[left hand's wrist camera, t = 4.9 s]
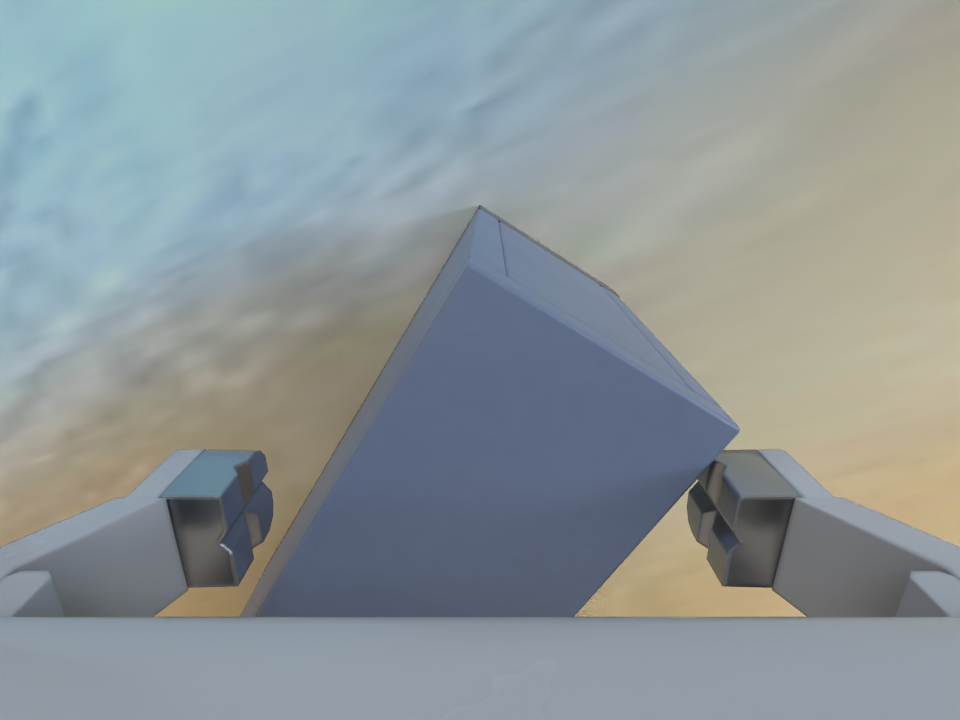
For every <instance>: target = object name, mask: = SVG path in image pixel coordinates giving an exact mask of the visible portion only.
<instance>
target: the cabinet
mask: <svg viewBox="0 0 960 720" xmlns="http://www.w3.org/2000/svg"><path fill="white" fill-rule="evenodd" d="M739 430H740V428H739V427H738V425H737V424H736V423H735V422H734V421H733V420H732V419H731V418H730V416H729V415H728V414H727V413H726V412H725V411H724V410H722V408H721V407H720V406H719V404H718V403H717V402H716V401H715V400H714V399H713V398H712V397H711V396H710V395H709V394H708V393H707V392H706V390H705V389H704V388H703V387H702V386H701V385H700V384H699V383H698V382H697V381H696V380H695V379H694V378H693V377H692V375H691V374H690V373H689V372H688V371H687V370H686V369H685V368H684V367H683V366H682V365H681V364H680V363H679V361H678V360H677V359H676V358H675V357H674V356H673V355H672V354H671V353H670V352H669V351H668V350H667V349H666V348H665V346H664V345H663V344H662V343H661V342H660V341H659V340H658V339H657V338H656V337H655V336H654V335H653V334H652V332H651V331H650V330H649V329H648V328H647V327H646V326H645V325H644V324H643V323H642V322H641V321H640V320H639V318H638V317H637V316H636V315H635V314H634V313H633V312H632V311H631V310H630V309H629V308H628V307H627V306H626V305H625V303H624V302H623V301H622V300H621V299H620V298H619V296H618V295H617V294H616V293H615V292H614V290H612V289H611V288H609V287H608V286H606V285H604V284H603V283H601V282H600V281H598V280H597V279H595V278H593V277H592V276H590V275H589V274H587V273H586V272H584V271H583V270H581V269H579V268H578V267H576V266H575V265H573V264H572V263H570V262H568V261H567V260H565V259H564V258H562V257H561V256H559V255H557V254H556V253H554V252H553V251H551V250H550V249H548V248H546V247H545V246H543V245H542V244H540V243H539V242H537V241H535V240H534V239H532V238H531V237H529V236H528V235H526V234H524V233H523V232H521V231H520V230H518V229H517V228H515V227H513V226H512V225H510V224H509V223H507V222H506V221H504V220H502V219H501V218H499V217H498V216H496V215H495V214H493V213H491V212H490V211H488V210H487V209H485V208H484V207H482V206H481V205H479V207H478V209H477V210H476V212H475V214H474V215H473V217H472V219H471V221H470V222H469V224H468V226H467V227H466V229H465V231H464V232H463V234H462V236H461V238H460V239H459V241H458V243H457V244H456V246H455V248H454V249H453V251H452V253H451V254H450V256H449V258H448V260H447V261H446V263H445V265H444V266H443V268H442V270H441V271H440V273H439V275H438V276H437V278H436V280H435V282H434V283H433V285H432V287H431V288H430V290H429V292H428V293H427V295H426V297H425V299H424V300H423V302H422V304H421V305H420V307H419V309H418V310H417V312H416V314H415V315H414V317H413V319H412V321H411V322H410V324H409V326H408V327H407V329H406V331H405V332H404V334H403V336H402V338H401V339H400V341H399V343H398V344H397V346H396V348H395V349H394V351H393V353H392V354H391V356H390V358H389V360H388V361H387V363H386V365H385V366H384V368H383V370H382V371H381V373H380V375H379V376H378V378H377V380H376V382H375V383H374V385H373V387H372V388H371V390H370V392H369V393H368V395H367V397H366V399H365V400H364V402H363V404H362V405H361V407H360V409H359V410H358V412H357V414H356V415H355V417H354V419H353V421H352V422H351V424H350V426H349V427H348V429H347V431H346V432H345V434H344V436H343V437H342V439H341V441H340V443H339V444H338V446H337V448H336V449H335V451H334V453H333V454H332V456H331V458H330V460H329V461H328V463H327V465H326V466H325V468H324V470H323V471H322V473H321V475H320V476H319V478H318V480H317V482H316V483H315V485H314V487H313V488H312V490H311V492H310V493H309V495H308V497H307V499H306V500H305V502H304V504H303V505H302V507H301V509H300V510H299V512H298V514H297V515H296V517H295V519H294V521H293V522H292V524H291V526H290V527H289V529H288V531H287V532H286V534H285V536H284V537H283V539H282V541H281V543H280V544H279V546H278V548H277V549H276V551H275V553H274V554H273V556H272V558H271V560H270V561H269V563H268V565H267V566H266V568H265V570H264V572H263V574H262V576H261V577H260V579H259V582H258V584H257V585H256V587H255V589H254V591H253V593H252V595H251V596H250V598H249V600H248V602H247V604H246V606H245V608H244V609H243V611H242V613H241V615H240V617H574V616H575V615H576V614H577V612H578V611H579V610H580V609H581V608H582V607H583V606H584V605H585V603H586V602H587V601H588V600H589V599H590V598H591V597H592V596H593V595H594V593H595V592H596V591H597V590H598V589H599V588H600V587H601V586H602V584H603V583H604V582H605V581H606V580H607V579H608V578H609V577H610V576H611V574H612V573H613V572H614V571H615V570H616V569H617V568H618V567H619V565H620V564H621V563H622V562H623V561H624V560H625V559H626V558H627V557H628V555H629V554H630V553H631V552H632V551H633V550H634V549H635V548H636V546H637V545H638V544H639V543H640V542H641V541H642V540H643V539H644V538H645V536H646V535H647V534H648V533H649V532H650V531H651V530H652V529H653V527H654V526H655V525H656V524H657V523H658V522H659V521H660V520H661V519H662V517H663V516H664V515H665V514H666V513H667V512H668V511H669V510H670V509H671V507H672V506H673V505H674V504H675V503H676V502H677V501H678V500H679V498H680V497H681V496H682V495H683V494H684V493H685V492H686V491H687V490H688V488H689V487H690V486H691V485H692V484H693V483H694V482H695V481H696V479H697V478H698V477H699V476H700V475H701V474H702V473H703V472H704V471H705V469H706V468H707V467H708V466H709V465H710V464H711V463H712V462H713V460H714V459H715V458H716V457H717V456H718V455H719V454H720V453H721V452H722V450H723V449H724V448H725V447H726V446H727V445H728V444H729V443H730V441H731V440H732V439H733V438H734V437H735V436H736V435H737V434H738V433H739Z"/></svg>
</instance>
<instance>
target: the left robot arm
mask: <svg viewBox="0 0 960 720" xmlns="http://www.w3.org/2000/svg"><path fill="white" fill-rule="evenodd" d="M267 472H268V468H267V463H266V458H265V455H264V454H263V453H262V452H261V451H260V450H213V449H209V450H206V449H183V450H176V451H175V452H173V453H172V454H171V455H170V456H169V457H168V458H167V459H166V460H165V461H164V462H163V463H162V464H161V465H160V466H159V467H158V468H157V469H156V470H154V471H153V472H152V473H151V474H150V475H149V476H148V477H147V478H146V479H145V480H144V481H143V482H142V483H141V484H140V485H139V486H138V487H136V488H135V489H134V490H133V491H132V492H131V493H130V494H129V495H128V496H127V497H126V498H115V499H113V500H110V501H108V502H106V503H103V504H101V505H98V506H96V507H94V508H91V509H89V510H87V511H84V512H82V513H80V514H77V515H75V516H72V517H70V518H68V519H65V520H63V521H61V522H58V523H56V524H54V525H51V526H49V527H47V528H44V529H42V530H39V531H37V532H35V533H32V534H30V535H28V536H25V537H23V538H21V539H18V540H16V541H13V542H11V543H9V544H6V545H4V546H2V547H0V720H960V547H958V546H956V545H954V544H951V543H949V542H947V541H944V540H942V539H940V538H937V537H935V536H933V535H930V534H928V533H926V532H923V531H921V530H918V529H916V528H914V527H911V526H909V525H907V524H904V523H902V522H900V521H897V520H895V519H893V518H890V517H888V516H885V515H883V514H881V513H878V512H876V511H874V510H871V509H869V508H867V507H864V506H862V505H860V504H857V503H855V502H853V501H850V500H848V499H845V498H835V497H833V496H832V495H831V494H830V493H829V492H828V491H827V490H826V489H825V488H824V487H823V486H822V485H821V484H820V483H819V482H818V481H817V480H816V479H814V478H813V477H812V476H811V475H810V474H809V473H808V472H807V471H806V470H805V469H804V468H803V467H802V466H801V465H800V464H799V463H798V462H797V461H795V460H794V459H793V458H792V457H791V456H790V455H789V454H788V453H787V452H786V451H784V450H781V449H761V450H722V452H721V453H720V454H719V455H718V456H717V457H716V458H715V459H714V460H713V462H712V463H711V464H710V465H709V466H708V467H707V468H706V469H705V471H704V472H703V473H702V474H701V475H700V476H699V477H698V478H697V479H698V482H697V483H696V484H695V486H694V487H693V488H692V489H691V490H690V491H689V494H688V502H687V513H688V522H689V525H690V528H691V531H692V533H693V535H694V537H695V539H696V541H697V542H698V543H700V544H702V545H703V546H705V547H706V548H708V554H707V560H708V562H709V564H710V566H711V567H712V569H713V571H714V572H715V574H716V576H717V578H718V579H719V581H720V583H721V585H722V586H732V587H769V588H772V590H773V591H774V592H776V593H777V594H778V595H780V596H781V597H782V598H783V599H785V600H786V601H787V602H789V603H790V604H791V605H793V606H794V607H795V608H797V609H798V610H799V611H800V612H802V613H803V614H804V615H806V616H807V617H154V616H155V615H156V614H157V613H159V612H160V611H161V610H163V609H164V608H165V607H167V606H168V605H169V604H171V603H172V602H173V601H175V600H176V599H177V598H178V597H180V596H181V595H182V594H184V593H185V592H186V591H188V588H191V587H227V586H238V585H239V584H240V582H241V580H242V578H243V577H244V575H245V573H246V571H247V570H248V568H249V566H250V564H251V563H252V561H253V559H254V557H253V552H252V549H253V548H254V547H256V546H257V545H259V544H260V543H262V542H263V541H264V540H265V538H266V536H267V534H268V532H269V530H270V526H271V522H272V517H273V498H272V492H271V490H270V489H269V488H268V487H267V486H266V485H265V484H264V483H263V482H262V480H263V478H264V477H265V475H266V474H267Z"/></svg>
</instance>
